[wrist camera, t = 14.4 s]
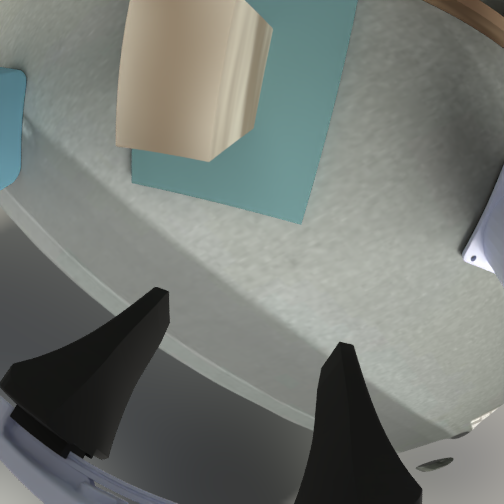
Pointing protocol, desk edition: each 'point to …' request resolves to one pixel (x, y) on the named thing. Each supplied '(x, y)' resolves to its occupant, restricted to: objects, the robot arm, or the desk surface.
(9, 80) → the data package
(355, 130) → the desk surface
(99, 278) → the desk surface
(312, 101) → the slate-teal mat
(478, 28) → the frame
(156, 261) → the desk surface
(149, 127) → the ash blank
